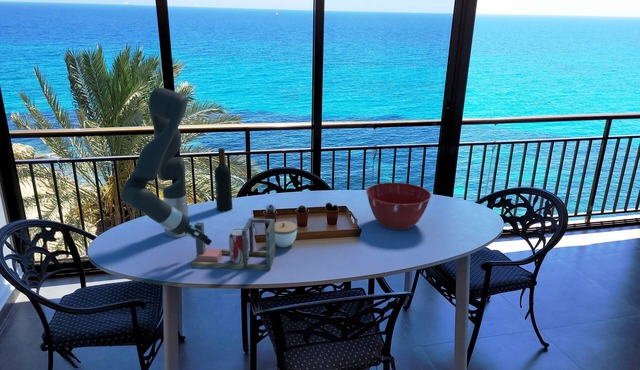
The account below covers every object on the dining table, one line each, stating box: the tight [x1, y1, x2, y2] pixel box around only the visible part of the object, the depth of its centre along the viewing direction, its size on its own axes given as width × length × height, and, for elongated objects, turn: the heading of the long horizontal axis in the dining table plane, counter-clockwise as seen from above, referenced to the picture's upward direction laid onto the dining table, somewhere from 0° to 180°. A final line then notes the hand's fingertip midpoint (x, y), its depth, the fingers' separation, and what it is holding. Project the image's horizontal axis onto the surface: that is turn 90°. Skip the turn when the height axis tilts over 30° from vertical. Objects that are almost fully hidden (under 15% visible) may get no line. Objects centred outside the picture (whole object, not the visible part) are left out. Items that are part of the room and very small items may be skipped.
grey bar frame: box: [190, 217, 276, 271], centre depth 166 cm, size 29×12×15 cm, turn 87°
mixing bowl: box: [366, 182, 432, 231], centre depth 201 cm, size 28×28×16 cm
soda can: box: [228, 228, 250, 264], centre depth 166 cm, size 7×7×12 cm
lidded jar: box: [275, 220, 298, 248], centre depth 181 cm, size 11×11×9 cm
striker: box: [193, 222, 223, 263], centre depth 166 cm, size 8×6×14 cm
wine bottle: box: [214, 147, 233, 212], centre depth 213 cm, size 8×8×30 cm
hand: (203, 239), depth 167 cm, fingers open, 8 cm apart
